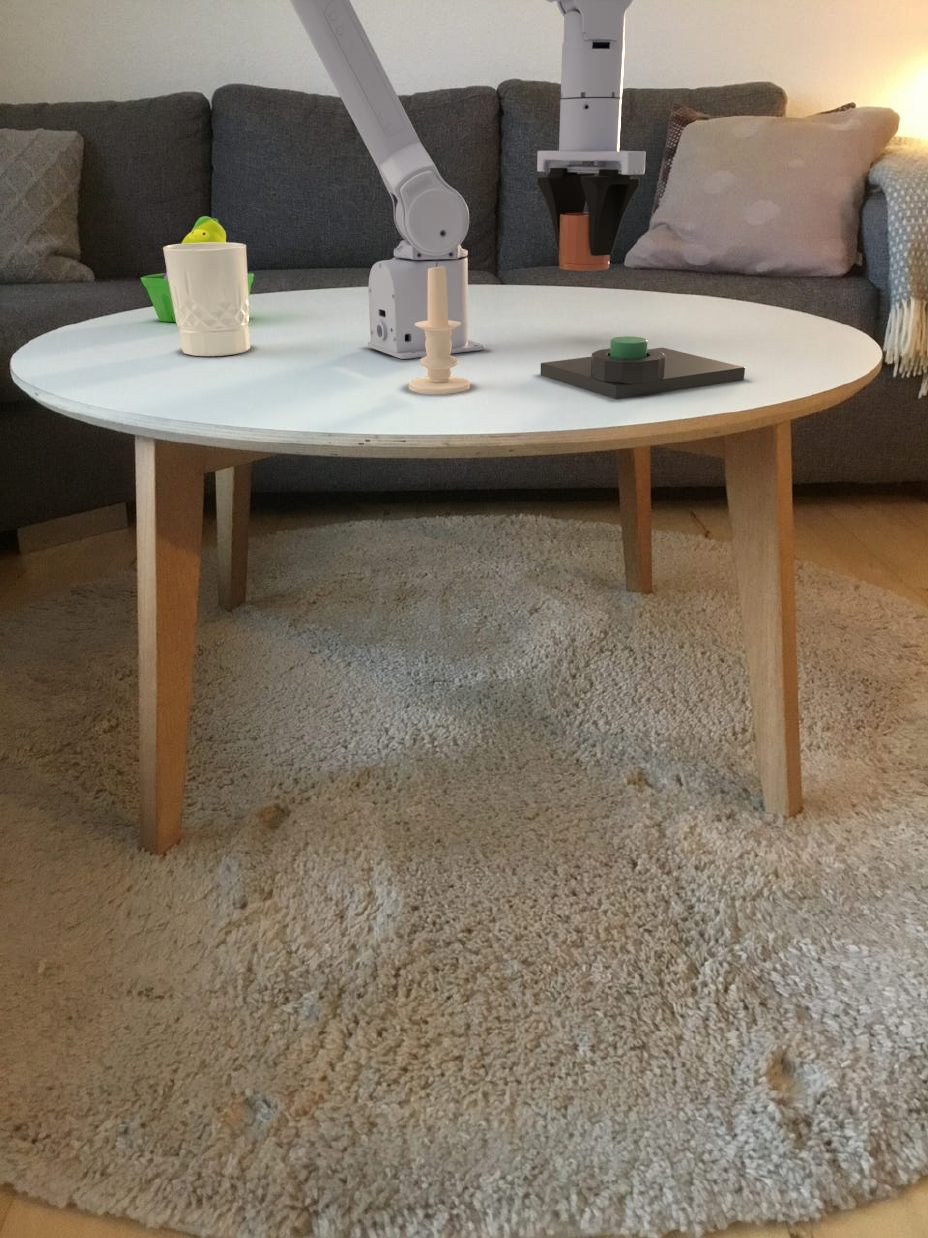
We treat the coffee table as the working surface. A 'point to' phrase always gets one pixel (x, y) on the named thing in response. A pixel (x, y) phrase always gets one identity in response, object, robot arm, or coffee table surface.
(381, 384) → the coffee table surface
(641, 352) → the button
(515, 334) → the coffee table surface
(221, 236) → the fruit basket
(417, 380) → the candle
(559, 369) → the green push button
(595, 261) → the terracotta pot
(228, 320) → the white cup
